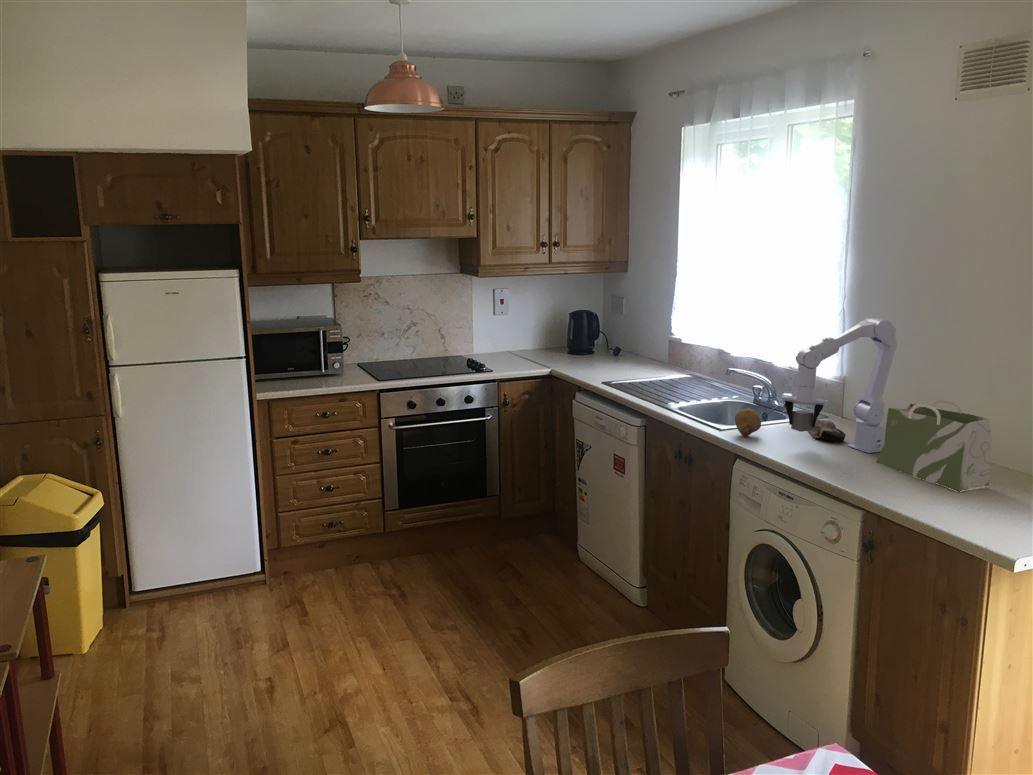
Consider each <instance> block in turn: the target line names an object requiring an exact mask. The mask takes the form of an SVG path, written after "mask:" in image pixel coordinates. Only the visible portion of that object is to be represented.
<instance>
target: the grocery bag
mask: <svg viewBox="0 0 1033 775" xmlns="http://www.w3.org/2000/svg"><path fill="white" fill-rule="evenodd" d="M940 403H944V404H945V403H946V404H949V405H953V406H954V407H955V408H957V409H958V411H959V412H957V411H950V410H944V409H939V408H936V406H937V405H938V404H940ZM990 420H991V419H990V418H986V417H984V416H983V417H982V416H978V415H974V414H970V413H966V412H964V411H963V409H962V407H961V406H960V405H959V404H958V403H957V402H955V401H953V400H946V399H941V398H940V399H937V400H935V401H933V404H932V405H928V404H923V403H917V404H916V403H909V404H908V406H907V407H906V408H897V407H896V408H894V407H888V408H887V415H886V423H885V431H886V432H885V443H884V446H883V448H882V450H881V452H880V453H879V455H878V457H877V459H876V460H875V462H878V463H877V464H879V463H880V464H879V465H881V464H883V465H882V466H884V465H885V467H887V466H888V467H887V468H889V467H891V468H890V469H892V468H893V470H895V469H896V470H895V471H897V470H898V472H899V471H901V472H900V473H902V472H903V473H902V474H904V473H906V474H905V475H907V474H908V475H907V476H909V475H911V476H913V477H912V478H914V477H918V478H921V479H924V480H927V481H931V482H934V483H938V484H940V485H943V486H946V487H948V488H951V489H953V490H956V491H958V492H960V491H962V490H967V489H970V488H976V487H982V486H989V487H990V479H991V478H990V477H991V466H992V465H991V464H992V462H991V461H992V431H991V422H990ZM911 476H910V477H911ZM924 480H923V481H924ZM927 481H926V482H927ZM940 485H939V486H940ZM953 490H952V491H953ZM958 492H957V493H958Z"/></svg>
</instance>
